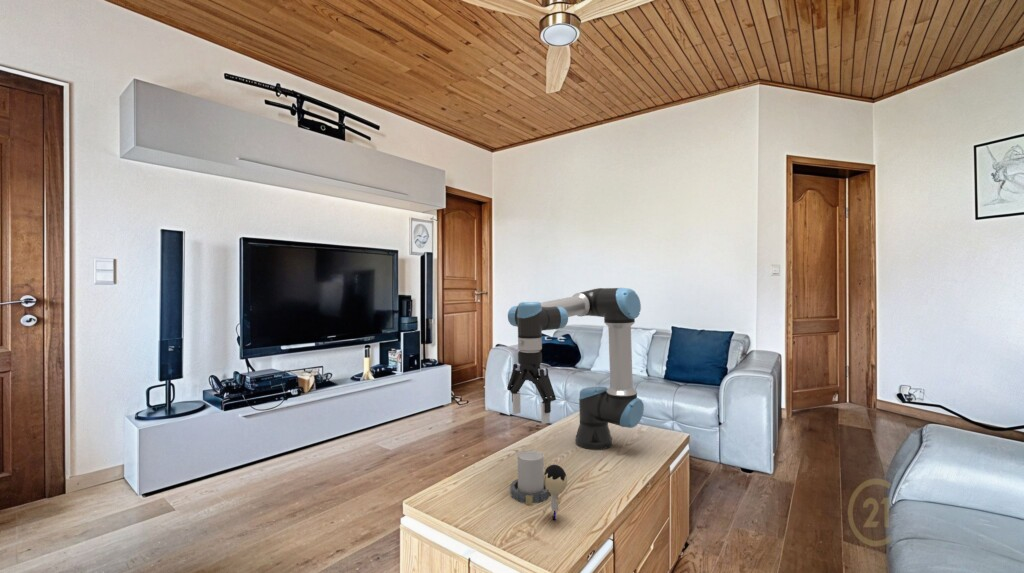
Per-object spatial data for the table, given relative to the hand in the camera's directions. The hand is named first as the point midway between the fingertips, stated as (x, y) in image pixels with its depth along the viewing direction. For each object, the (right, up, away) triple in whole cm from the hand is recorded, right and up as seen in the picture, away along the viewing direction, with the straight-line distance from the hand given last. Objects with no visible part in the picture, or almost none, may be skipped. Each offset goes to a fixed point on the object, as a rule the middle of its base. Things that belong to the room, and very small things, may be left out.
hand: (530, 418), depth 137 cm
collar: (0, -24, 0) cm, 24 cm away
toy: (+6, -24, -16) cm, 29 cm away
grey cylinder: (0, -24, 0) cm, 24 cm away
